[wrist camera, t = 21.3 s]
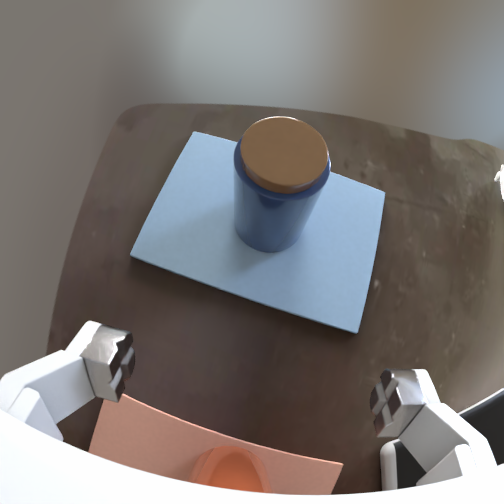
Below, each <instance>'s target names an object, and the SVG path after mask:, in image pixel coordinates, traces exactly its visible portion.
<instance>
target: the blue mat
mask: <svg viewBox="0 0 504 504" xmlns="http://www.w3.org/2000/svg"><path fill="white" fill-rule="evenodd" d="M236 145H237V142H233V141H230V140H226V139H222V138H218V137H214V136H211V135H207V134H203V133H198V132H193V134H192V136H191V137H190V139H189V141H188V142H187V144H186V146H185V148H184V149H183V151H182V153H181V155H180V156H179V158H178V160H177V162H176V164H175V165H174V167H173V169H172V171H171V173H170V175H169V176H168V178H167V180H166V182H165V184H164V186H163V188H162V190H161V192H160V193H159V195H158V197H157V199H156V201H155V203H154V205H153V207H152V209H151V211H150V213H149V215H148V217H147V219H146V221H145V223H144V225H143V227H142V230H141V232H140V234H139V236H138V238H137V240H136V242H135V244H134V247H133V249H132V251H131V253H130V256H131V257H133V258H136V259H139V260H141V261H144V262H146V263H149V264H152V265H154V266H157V267H159V268H162V269H165V270H167V271H170V272H173V273H175V274H178V275H181V276H184V277H186V278H189V279H192V280H194V281H197V282H200V283H203V284H206V285H208V286H211V287H214V288H217V289H220V290H222V291H225V292H228V293H231V294H234V295H237V296H240V297H242V298H245V299H248V300H251V301H254V302H257V303H260V304H263V305H266V306H269V307H272V308H275V309H278V310H281V311H284V312H287V313H290V314H293V315H296V316H300V317H303V318H306V319H309V320H312V321H315V322H318V323H322V324H325V325H328V326H331V327H335V328H338V329H341V330H344V331H348V332H351V333H354V334H356V333H358V329H359V325H360V321H361V317H362V313H363V309H364V305H365V301H366V296H367V292H368V287H369V283H370V278H371V273H372V268H373V263H374V258H375V253H376V247H377V242H378V236H379V230H380V224H381V218H382V211H383V204H384V197H385V192H382V191H380V190H377V189H375V188H372V187H370V186H367V185H365V184H362V183H359V182H357V181H354V180H351V179H349V178H346V177H343V176H341V175H338V174H335V173H332V172H330V175H329V177H328V180H327V182H326V184H325V186H324V188H323V191H322V193H321V195H320V197H319V199H318V201H317V203H316V205H315V207H314V209H313V211H312V213H311V215H310V217H309V220H308V222H307V224H306V226H305V228H304V230H303V232H302V234H301V236H300V237H299V239H298V240H297V242H296V243H295V244H294V245H292V246H291V247H290V248H288V249H286V250H283V251H280V252H275V253H266V252H261V251H257V250H255V249H253V248H251V247H249V246H248V245H246V244H245V243H244V242H243V241H242V240H241V238H240V237H239V236H238V234H237V232H236V229H235V226H234V180H233V157H234V150H235V147H236Z"/></svg>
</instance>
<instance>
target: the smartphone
mask: <svg viewBox="0 0 504 504" xmlns="http://www.w3.org/2000/svg"><path fill="white" fill-rule="evenodd" d="M457 414H458V415H459V416H460V417H461V418H462V419H464V420H465V421H466V422H467V423H468V424H470V425H471V426H472V427H473V428H474V429H475V430H477V431H478V432H479V433H480V434H481V435H483V436H484V437H485V438H486V439H487V441H488V444H489V446H490V449H491V451H492V454H493V456H494V459H495V462H496V464H497V466H498V465H501V464H503V463H504V388H503V389H501V390H499V391H498V392H496V393H494V394H493V395H491V396H489V397H487V398H486V399H484V400H482V401H480V402H478V403H476V404H475V405H473V406H471V407H469V408H467V409H465V410H463V411H461V412H459V413H457ZM380 462H381V477H382V491H389V490H396V489H403V488H410V487H416V483H417V482H418V480H420V479H421V478H422V477H423V476H424V475H425V474H427V472H426V471H425V470H424V469H423V468H422V466H421V465H420V464H419V463H418V462H417V460H416V459H415V458H414V457H413V455H412V454H411V453H410V452H409V451H408V449H407V448H406V447H405V446H404V444H403V443H402V442H401V441H400V440H399V439H396V440H394V441H391V442H388V443H386V444H385V445H384V446H383V447H382V449H381V451H380Z"/></svg>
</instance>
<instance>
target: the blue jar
mask: <svg viewBox="0 0 504 504" xmlns="http://www.w3.org/2000/svg"><path fill="white" fill-rule="evenodd" d="M330 169H331V164H330V158H329V155H328V149H327V146H326V143H325V141H324V139H323V138H322V136H321V135H320V134H319V133H318V132H317V131H316V130H315V129H314V128H312V127H311V126H310V125H308V124H306V123H304V122H302V121H300V120H297V119H293V118H289V117H270V118H266V119H263V120H260V121H258V122H256V123H255V124H253V125H252V126H251V127H249V128H248V130H247V131H246V132H245V134H244V135H243V136H242V137H241V139H240V140H239V141H238V143H237V145H236V147H235V150H234V157H233V180H234V226H235V229H236V232H237V234H238V236H239V237H240V238H241V240H242V241H243V242H244V243H245V244H246V245H248V246H249V247H251V248H253V249H255V250H257V251H261V252H266V253H275V252H280V251H283V250H286V249H288V248H290V247H291V246H292V245H294V244H295V243H296V242H297V240H298V239H299V237H300V236H301V234H302V232H303V230H304V228H305V226H306V224H307V222H308V220H309V217H310V215H311V213H312V211H313V209H314V207H315V205H316V203H317V201H318V199H319V197H320V195H321V193H322V191H323V188H324V186H325V184H326V182H327V180H328V177H329V175H330Z"/></svg>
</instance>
